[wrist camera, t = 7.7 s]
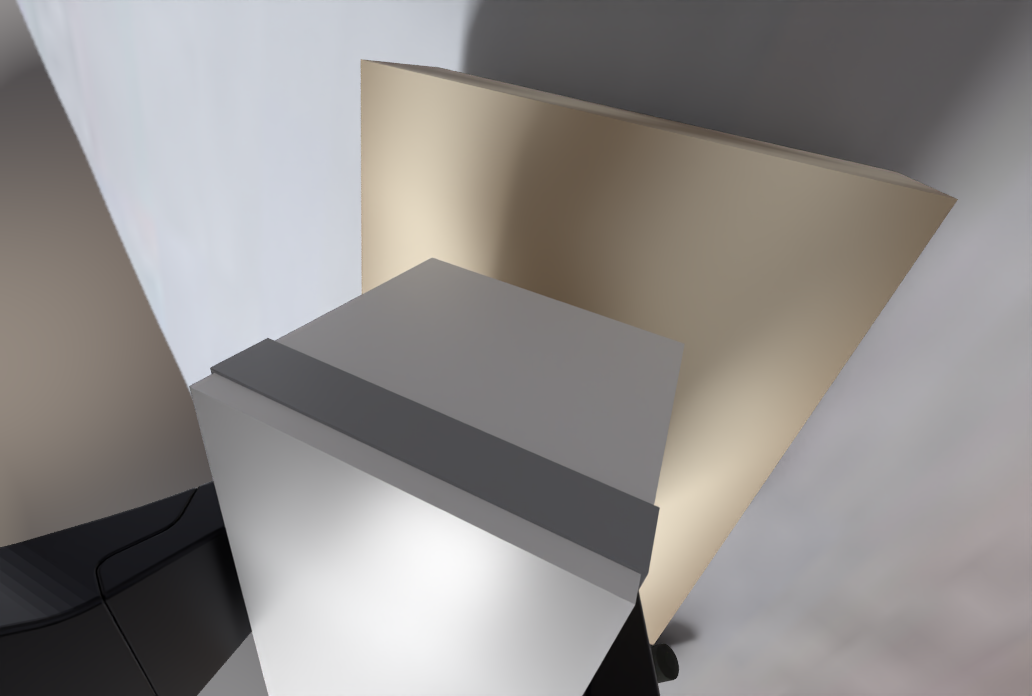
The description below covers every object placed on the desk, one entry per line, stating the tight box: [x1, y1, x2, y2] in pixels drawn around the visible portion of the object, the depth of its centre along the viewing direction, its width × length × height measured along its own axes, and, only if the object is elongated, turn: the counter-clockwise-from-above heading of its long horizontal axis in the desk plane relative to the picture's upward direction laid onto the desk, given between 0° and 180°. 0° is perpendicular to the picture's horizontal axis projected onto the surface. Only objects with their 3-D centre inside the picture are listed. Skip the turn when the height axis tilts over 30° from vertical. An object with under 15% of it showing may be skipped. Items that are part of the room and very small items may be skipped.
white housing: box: [189, 258, 685, 696], centre depth 9 cm, size 5×8×5 cm, turn 170°
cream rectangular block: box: [361, 60, 958, 645], centre depth 14 cm, size 11×14×4 cm
